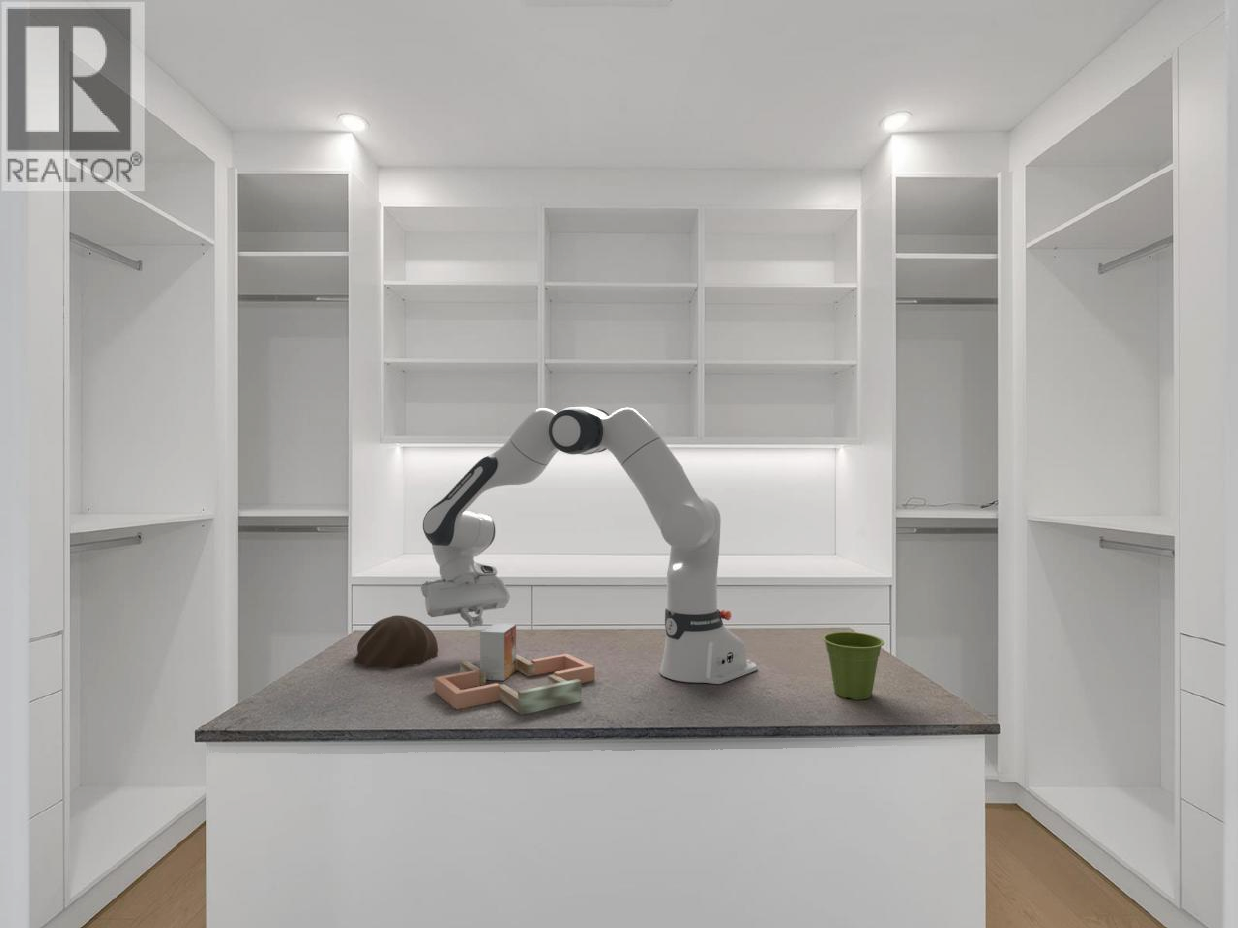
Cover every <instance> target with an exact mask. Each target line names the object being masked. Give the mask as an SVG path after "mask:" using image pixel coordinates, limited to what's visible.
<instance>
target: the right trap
mask: <svg viewBox="0 0 1238 928" xmlns="http://www.w3.org/2000/svg"><path fill="white" fill-rule="evenodd" d="M530 662H532V663H534V664H535V675H534V676H537V675H541V674H548V673H553V672H554V673H553V674H555V675H557V676H559V677H561V678H562V679H564V680H566V681H570V680H575V679H579V680H581V684H583V683H588V682H594V681H595V680H596V679H595V678H596V677H595V665H592V664H590V663H588V662H586V661H583V660H582V659H579V658H577V657H575V656H573V655H571V654H569V653H561V654H556V655H551V656H546V657H539V658H534V659H531V661H530ZM593 680H594V681H593Z"/></svg>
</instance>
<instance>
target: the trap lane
mask: <svg viewBox="0 0 1238 928" xmlns="http://www.w3.org/2000/svg"><path fill="white" fill-rule="evenodd" d="M459 663H460V666H459V667H460V668H459V669H460V672H459V673H462V672H467V671H473V670H477V671H479V686H478V687H480V685H481V686H485V685H487V680H486V673H485V672H484V671H482V670H480V668H479V667H477V666H476V665H474V664H473V663H471V662H469V661H468V660H464V661H460V662H459ZM516 671H519V672H520V673H522V674H524V675H526V676H527V677H533V676H536V675H535V664H534V663H532V662H531V661H530V660H528V659H527V658H525V657H523V656H520V655H519V654H517V653H516ZM499 685H500V700H499V701H500V702H501V703H504V704H505V705H506V706H508V707H510V709H512V710H514V711H515V712H517V713H518V714H519V715H521V716H523V715H528V714H532V713H537V712H541V711H544V710H545V711H546V710H549V708H550V709H554V708H558V707H562V706H566V705H571V704H575V703H580V702H582V683H581V680H579V679H575V680H570V681H566V680H564V679H562V678H561V677H559V676H557V675H555V674H554V673H553V674H549V675H547V684H546V685H541V686H537V687H533V688H527V689H523V690H519V691H515V690H513V688H510V687H509V686H508V685H506V684H499Z"/></svg>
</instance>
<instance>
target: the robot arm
mask: <svg viewBox="0 0 1238 928" xmlns="http://www.w3.org/2000/svg"><path fill="white" fill-rule="evenodd" d="M606 450H608V451H609V452H610V453H612V455H613V456H614V457H615V459H616V460H617V461H618V463H619V464H620V466H621V467H622V469H623V470H624V471H625V473H626V475H627V476H628V477H629V480H631V481H632V483H633V485H634V486H635V488H636V489H637V490H638V491H639V493H640V495H641V496H642V498H643V500H644V502H645V504H646V506H647V508H648V509H649V512H650V514H651V516H652V517H653V519H654V522H655V523H656V524H657V527H658V529H659V530H660V534H661V536H662V538H663V539H664V541H665V542H666V543H667V544H668V545H669V546H670V555H669V561H668V569H667V573H666V608H665V611H664V627H665V633H666V634H665V642H664V650H663V656H662V660H661V665H660V667H659V668H660V669H659V673H660V675H661V676H662V677H664V678H667V679H670V680H673V681H677V682H684V683H704V684H706V683H707V684H711V685H721V684H724V683H728V681H732V680H735V679H737V678H740V677H742V676H745V675H748V674H751V673H752V672H756V671H757V670H758V666H757V664H756V663H755V662H754V661H751V659H747V650H746V645H745V643H744V642H743V640H742V639H741V638H740V637H738V636H737V635H736V634H734V633H733V632H732V631H731V630H729V629H728V628H727V627H726V626H725V625H724V622H723V620H726V621H730V620H731V618H732V612H731V611H729V610H725V609H722V610H720V609H718V567H719V556H720V555H719V554H720V541H721V514H720V511H719V509H718V507H717V505H716V504H715V503H714V502H713V501H711V500H710V499H708V498H706V497H703V496H699V495H698V493H697V491H695V489H694V487H693V485H692V484H691V482H690V480H689V478H688V476H687V475H686V472H685V471H684V469H683V466H682V464H681V463H680V462H679V460H678V459H677V458H676V456H675V455H674V453H673V452H672V451H671V449H670V448H669V447H668V445H667V444H666V443H665V440H663V438H662V436H661V435H660V434H659V433H658V432H657V430H656V429H655V428H654V427H653V426H652V425H651V423H650V422H649V421H648V420H647V419H646V418H645V417H644V416H643V415H642V414H641V413H640V412H638V411H637V410H636V409H634V408H632V407H624V408H623V407H622V408H619V409H617V410H615V411H613V412H612V413H611V414H609V413H608V412H607V411H605V410H603V409H599V408H592V407H589V406H570V407H566V408H563V409H561V410H559V411H558V412H557V411H555V410H553V409H550V408H546V407H540V408H537V409H535V410H533V411H532V412H531V413H530V414H529V415H528V416H527V417H526V418H525V419H524V420H523V421H522V422H521V423H520V425H518V427H517V428H516V430H515V431H514V432H513V433H512V435H511V436H510V437H509V439H508V440H507V441H506V442H505V443H504V444H503V445H502V446H501V447H500V448H499V449H497V450H496V451H495V452H493V453H491V454H489V455H487V456H484V457H483V458H481V459H480V460H478V461H477V462H476V463H475V464H474V465H473V466H472V467H471V468H470V470H468V471H467V473H465V474H464V476H463V477H462V478H461V479H460V480H459V481H458V482H457V483H456V484H455V486H453V488H452V489H450V491H448V493H447V494H446V495H445V496H444V497H442V499H441V500H439V501H438V502H437V503H435V504H434V505H433V506H432V507H431V508H430V509H428V510H427V512H426V513H425V515H424V517H423V521H422V530H423V533H424V536H425V537H426V539H427V540H428V542H429V543H430V544H431V546H432V547H431V548H432V552H433V555H434V559H435V562H436V563H437V564H438V566H439V576H440V578H441V579H435V580H427V581H425V582H424V583H422V584H421V586H420V591H421V593H422V596H423V597H424V603H425V610H426V615H428V616H429V617H431V618H436V617H437V618H438V617H444V616H445V617H446V616H452V615H460V617H461V618H462V619H463V620H465V622H466V623H467V624H468V627H469V628H475V627H481V626H483V623H484V622H483V621H484V620H483V618H482V616H483V612H484V611H488V610H496V609H504V608H505V607H507V606H508V604H509V601H510V600H511V599H510V598H511V597H510V593H509V591H508V588H507V586H506V583H505V582H504V580H503V579H502V578H501V577H500V576H499V575H497V574H498V569H497V567H496V566H493V565H489V564H488V565H487V564H483V563H479V562H476V561H475V560H474V558H475V557H477V556H479V555H481V554H482V553H483V552H484V551H485V550H487V549H488V548H489V547H490V546H491V545H492V544H493V542H494V541H495V538H496V524H495V522H494V520H493V518H492V517H491V515H489V514H486V513H483V512H480V511H476V510H469V509H468V508H470V506H471V505H473V503H475V501H476V500H477V499H478V498H479V497H480V496H481V495H482V494H483V493H484V492H486V491H488V490H491V489H493V488H496V487H502V486H503V487H504V486H520V485H527V484H530V483H532V482H534V481H535V480H536V479H537V478H539V477H540V475H541V474H542V473H543V472H544V471H545V469H546V468H547V466H548V465H549V464H550V462H551V461H552V459H553V458H554V457H555V455H556V454H557V453H558V452H559V451H560V452H562V453H565V454H567V455H582V456H583V455H585V456H587V455H592V454H596V453H597V454H599V453H603V452H604V451H606ZM470 613H474V614H475V615H477V616H472V615H471V614H470Z"/></svg>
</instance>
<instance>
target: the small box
mask: <svg viewBox="0 0 1238 928" xmlns="http://www.w3.org/2000/svg"><path fill="white" fill-rule="evenodd" d="M479 638H480V641H479V644H480V648H479V656H480V657H479V658H480V659H479V660H480V662H479V663H480V664H479V667H480V668H479V669H480V670H482V671H484V672H485V673H486V681H506V680H507V678H509V677H510V676H511V675H512V674H514V673H515V672H516V671H517V669H516V654H517V624H511V623H492V624H491V625H489V626H488V627H487V628H485V629H483V630H481V631H479Z"/></svg>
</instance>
